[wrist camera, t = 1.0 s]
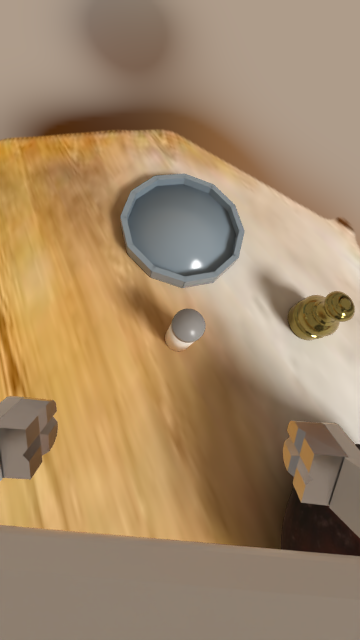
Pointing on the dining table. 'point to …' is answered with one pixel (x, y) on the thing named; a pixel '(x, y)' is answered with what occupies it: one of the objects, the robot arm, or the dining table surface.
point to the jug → (316, 529)
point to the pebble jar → (184, 329)
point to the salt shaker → (320, 315)
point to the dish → (181, 230)
